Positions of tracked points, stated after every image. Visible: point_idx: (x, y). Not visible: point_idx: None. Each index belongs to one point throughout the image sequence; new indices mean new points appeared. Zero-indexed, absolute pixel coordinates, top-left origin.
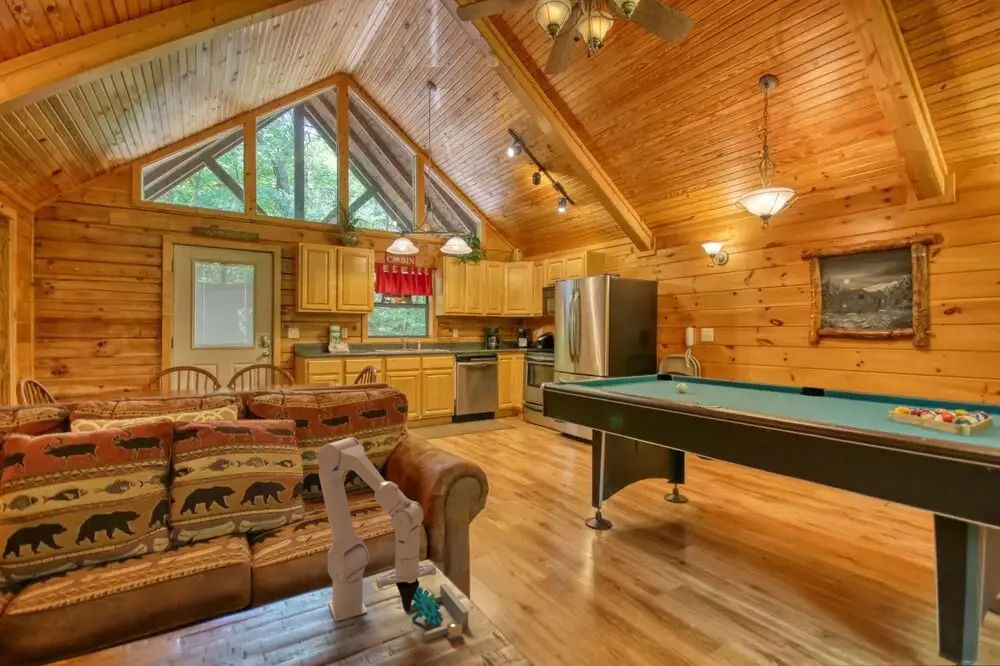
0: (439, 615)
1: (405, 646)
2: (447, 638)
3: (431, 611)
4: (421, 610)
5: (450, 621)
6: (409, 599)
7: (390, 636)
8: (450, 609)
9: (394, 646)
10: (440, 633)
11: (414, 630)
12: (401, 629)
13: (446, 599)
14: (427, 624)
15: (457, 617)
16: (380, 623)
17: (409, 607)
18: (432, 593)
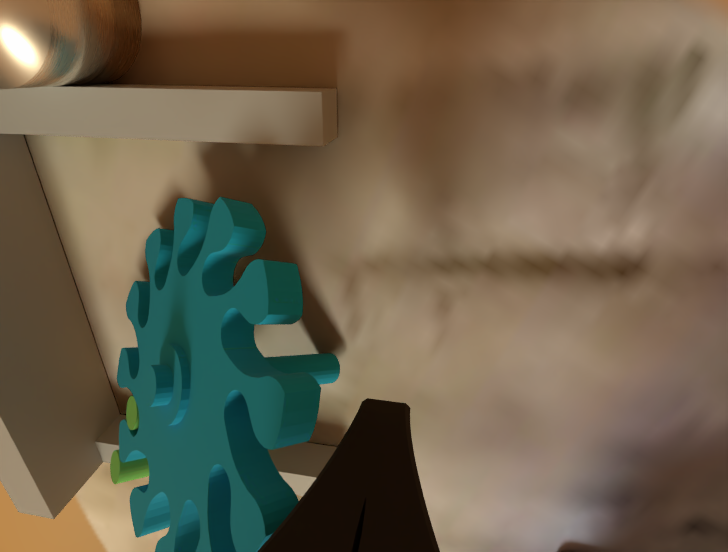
0: (140, 290)
1: (510, 111)
2: (136, 13)
3: (171, 319)
4: (248, 345)
5: (12, 82)
6: (346, 516)
7: (551, 297)
8: (61, 313)
9: (593, 164)
10: (175, 86)
11: (359, 265)
12: (440, 324)
13: (56, 395)
14: (250, 205)
15: (8, 196)
16: (536, 445)
17: (361, 424)
18: (117, 480)
